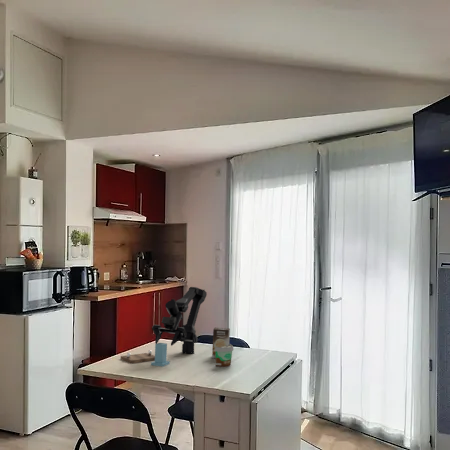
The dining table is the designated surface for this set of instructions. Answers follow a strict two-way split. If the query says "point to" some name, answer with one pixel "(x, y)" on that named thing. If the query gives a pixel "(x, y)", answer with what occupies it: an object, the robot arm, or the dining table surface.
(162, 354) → the stepped blue block
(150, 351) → the dowel pins
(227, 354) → the food container
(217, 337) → the coffee box
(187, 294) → the robot arm
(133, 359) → the walnut base plate
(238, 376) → the dining table surface
